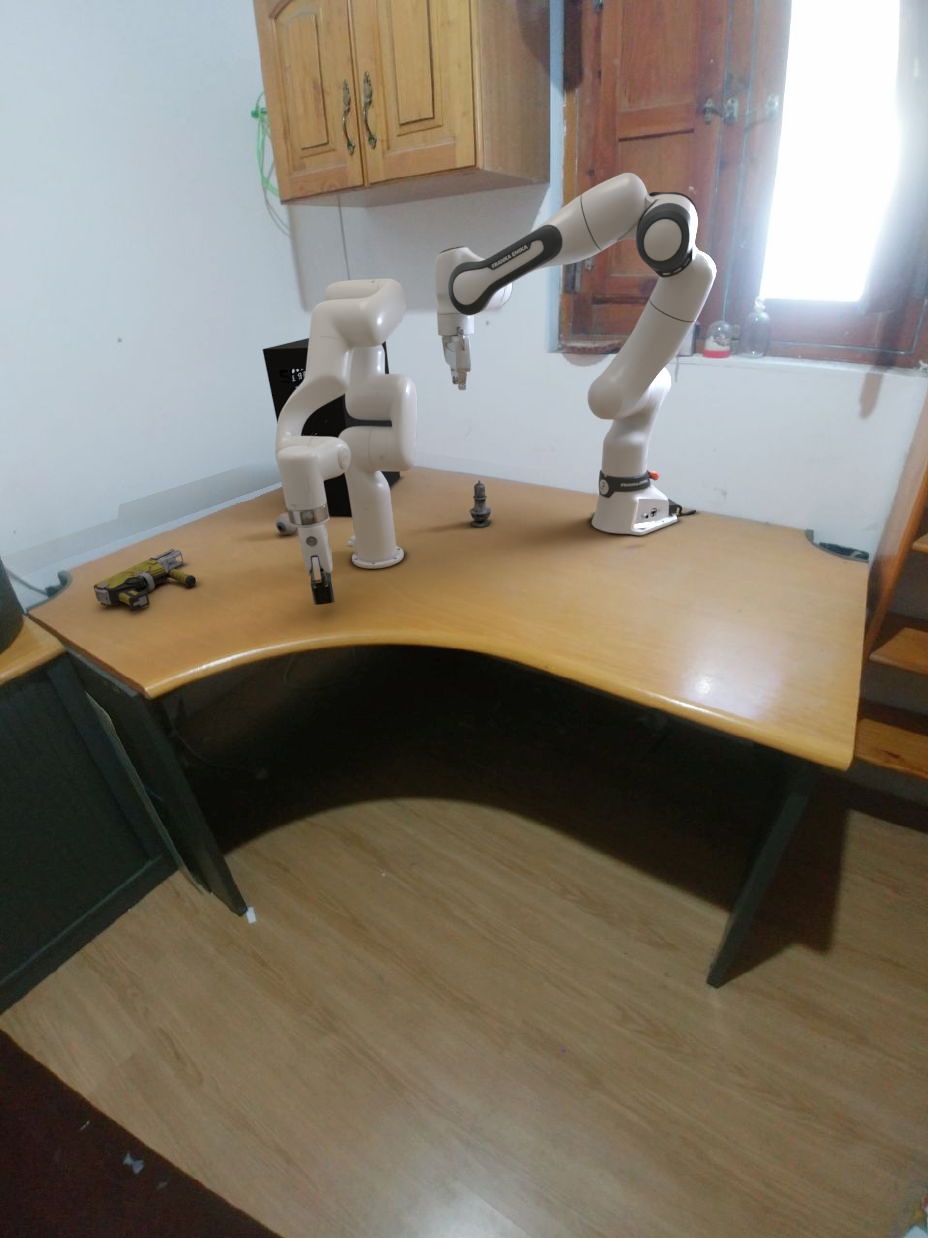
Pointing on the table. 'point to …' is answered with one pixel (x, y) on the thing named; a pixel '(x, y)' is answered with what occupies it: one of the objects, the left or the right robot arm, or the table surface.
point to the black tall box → (317, 413)
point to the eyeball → (285, 524)
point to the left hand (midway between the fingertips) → (324, 597)
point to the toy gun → (141, 581)
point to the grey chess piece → (480, 507)
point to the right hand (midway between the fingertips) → (459, 386)
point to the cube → (330, 582)
